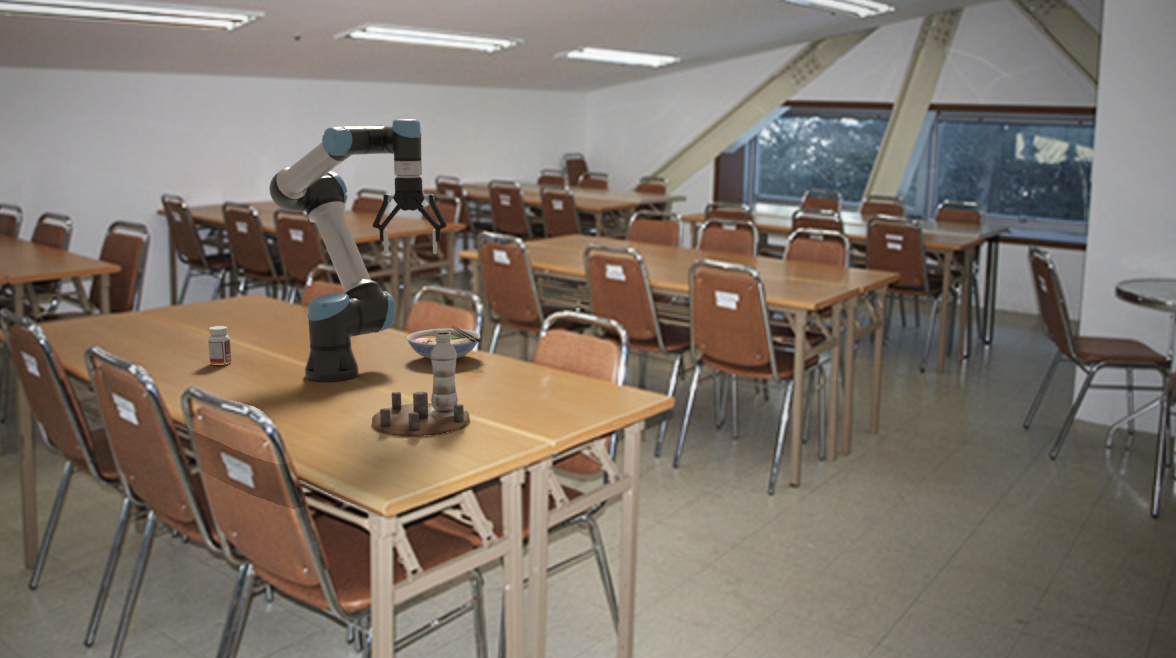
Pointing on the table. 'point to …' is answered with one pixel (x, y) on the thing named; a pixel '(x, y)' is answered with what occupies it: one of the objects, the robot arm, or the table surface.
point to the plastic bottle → (443, 373)
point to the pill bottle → (219, 345)
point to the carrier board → (423, 423)
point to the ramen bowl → (459, 340)
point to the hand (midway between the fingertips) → (410, 253)
